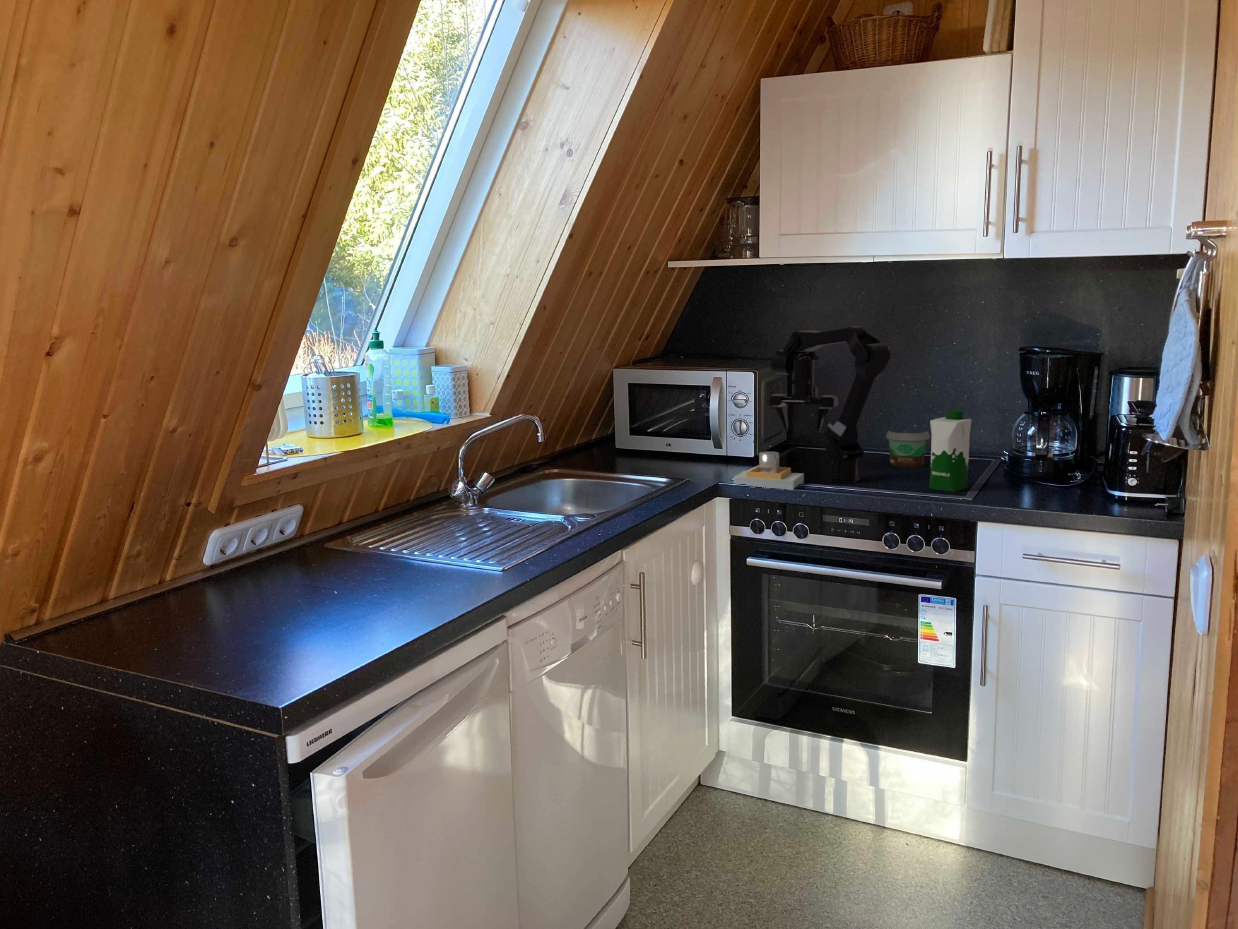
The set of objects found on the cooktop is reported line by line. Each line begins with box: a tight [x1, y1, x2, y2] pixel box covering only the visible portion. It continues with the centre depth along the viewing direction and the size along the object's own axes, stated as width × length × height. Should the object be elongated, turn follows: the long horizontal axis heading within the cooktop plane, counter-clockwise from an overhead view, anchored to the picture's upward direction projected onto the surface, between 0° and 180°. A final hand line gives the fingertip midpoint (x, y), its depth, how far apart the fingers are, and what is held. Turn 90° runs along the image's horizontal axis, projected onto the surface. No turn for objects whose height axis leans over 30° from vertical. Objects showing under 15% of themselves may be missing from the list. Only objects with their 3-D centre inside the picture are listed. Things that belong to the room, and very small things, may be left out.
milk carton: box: [928, 409, 972, 493], centre depth 258 cm, size 9×9×20 cm
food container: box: [885, 430, 930, 468], centre depth 291 cm, size 12×6×10 cm, turn 80°
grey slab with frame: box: [733, 465, 805, 491], centre depth 270 cm, size 16×10×4 cm, turn 65°
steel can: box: [758, 451, 780, 473], centre depth 269 cm, size 5×5×6 cm
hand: (802, 431), depth 283 cm, fingers open, 9 cm apart
